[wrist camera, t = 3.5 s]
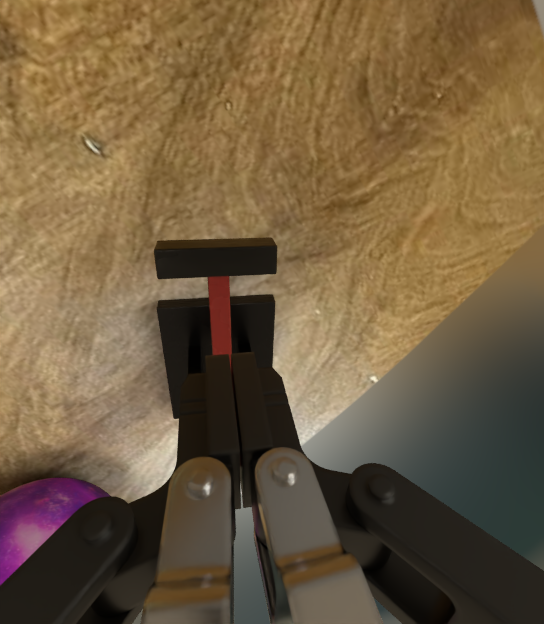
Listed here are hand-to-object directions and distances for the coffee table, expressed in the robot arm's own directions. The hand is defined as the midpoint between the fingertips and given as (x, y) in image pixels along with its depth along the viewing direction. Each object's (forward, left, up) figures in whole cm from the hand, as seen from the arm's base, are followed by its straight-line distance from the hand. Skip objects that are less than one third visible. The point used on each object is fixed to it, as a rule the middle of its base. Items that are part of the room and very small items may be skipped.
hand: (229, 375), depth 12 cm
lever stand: (+13, +1, -17) cm, 21 cm away
